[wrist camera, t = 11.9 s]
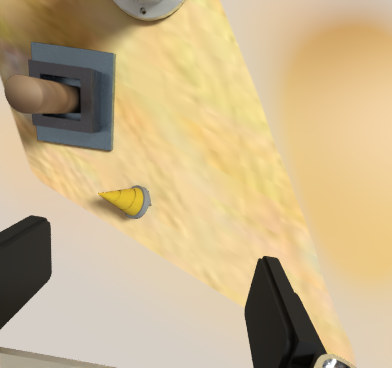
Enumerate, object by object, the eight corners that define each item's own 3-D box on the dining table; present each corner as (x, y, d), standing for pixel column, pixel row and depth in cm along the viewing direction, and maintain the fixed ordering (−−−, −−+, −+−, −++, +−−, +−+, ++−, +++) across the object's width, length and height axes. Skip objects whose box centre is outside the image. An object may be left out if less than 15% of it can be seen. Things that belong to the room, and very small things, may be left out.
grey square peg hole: (34, 43, 34) (13, 34, 30) (115, 54, 34) (104, 47, 30) (40, 139, 38) (23, 142, 34) (112, 149, 38) (102, 153, 34)
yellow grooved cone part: (138, 217, 42) (84, 209, 34) (145, 189, 42) (94, 174, 35) (157, 223, 38) (102, 215, 31) (165, 192, 39) (113, 176, 31)
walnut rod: (60, 83, 34) (2, 72, 25) (86, 87, 34) (39, 77, 25) (61, 111, 36) (6, 110, 26) (86, 115, 36) (41, 115, 26)
